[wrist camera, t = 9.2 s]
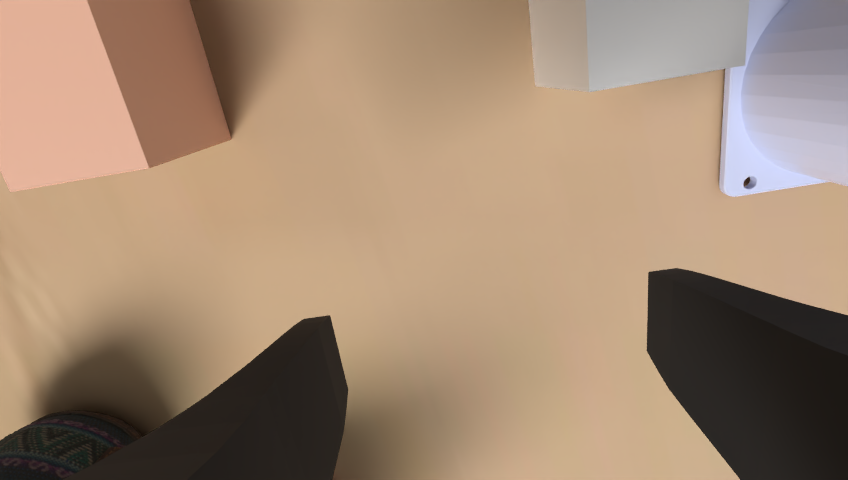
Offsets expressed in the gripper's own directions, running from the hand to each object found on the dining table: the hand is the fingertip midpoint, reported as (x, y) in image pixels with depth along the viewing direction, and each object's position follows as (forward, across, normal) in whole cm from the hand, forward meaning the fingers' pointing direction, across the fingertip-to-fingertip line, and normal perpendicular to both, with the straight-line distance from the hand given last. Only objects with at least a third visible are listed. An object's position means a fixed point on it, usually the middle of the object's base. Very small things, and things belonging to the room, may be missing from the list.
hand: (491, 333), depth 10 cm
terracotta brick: (+10, +10, -8) cm, 16 cm away
